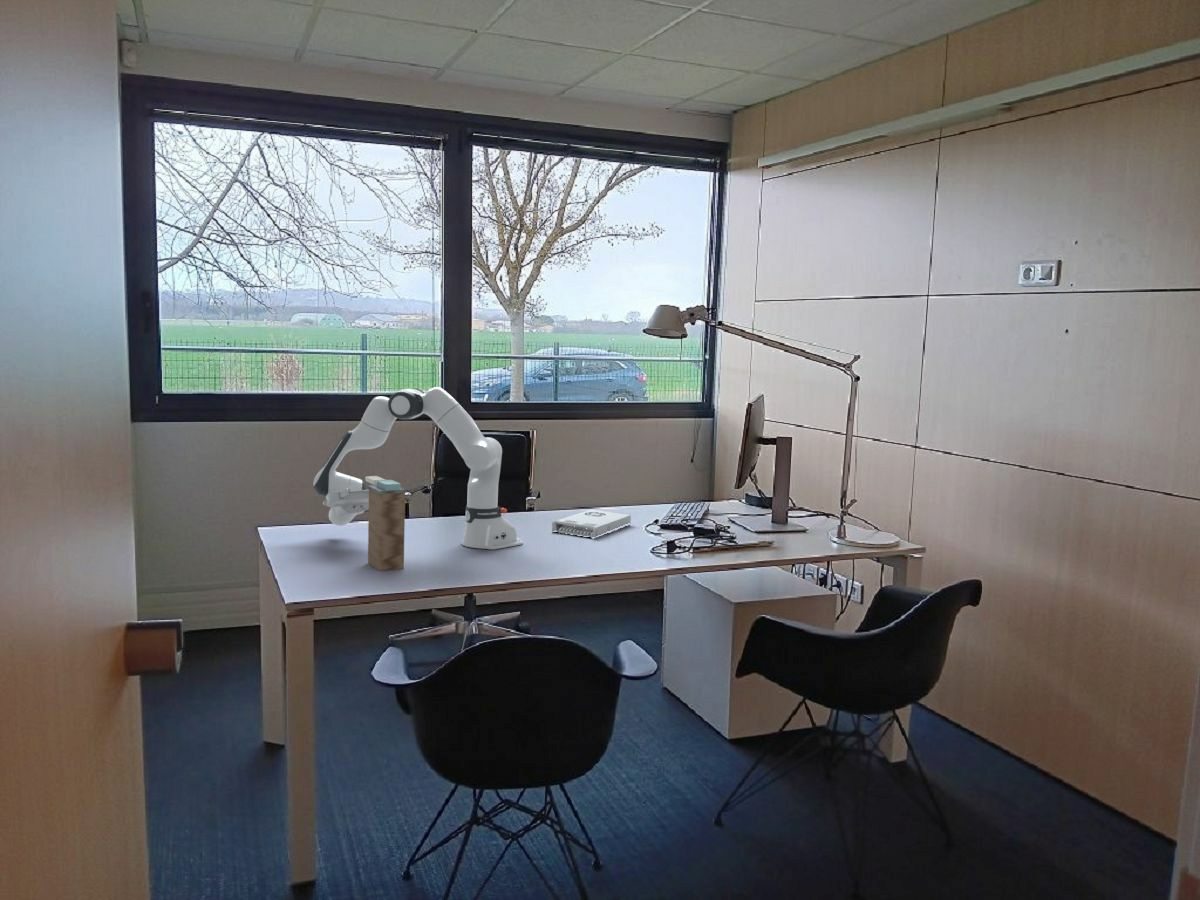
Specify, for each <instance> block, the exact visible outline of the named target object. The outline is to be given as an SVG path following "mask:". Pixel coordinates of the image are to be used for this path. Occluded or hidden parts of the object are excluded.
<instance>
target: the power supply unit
mask: <svg viewBox="0 0 1200 900" xmlns="http://www.w3.org/2000/svg"><path fill="white" fill-rule="evenodd" d="M631 516H632V515H630V514H624V513H619V512H618V513H617V512H611V511H605V510H599V509H598V510H596V509H589V510H585V511H583V512H579V513H576V514H572V515H570V516H567V517H562V518H560V519H556V520H554V521H551V522H552V523H551V533H552V532H553V531H555V530H556V531H557V532H559V533H558V534H560V533H567V534H573V535H582V536H589V537H596V536H598V535H601V534H603V533H606V532H607V531H610V530H613V529H615V528H618V527H620V526H623V525H625V524H628V523H630V524H631V518H632V517H631ZM574 526H575V527H574ZM586 528H587V529H586Z"/></svg>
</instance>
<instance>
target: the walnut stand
mask: <svg viewBox="0 0 1200 900" xmlns="http://www.w3.org/2000/svg"><path fill="white" fill-rule="evenodd" d="M366 490H369V511H368V523H367V525H368V528H367V529H368V535H367V537H368V538H367V540H368V541H367V544H368V545H367V546H368V547H367V564H368V565H370V566H371V567H373V568H374V569H376V570H378V571H379V572H385V571H392V570H400V569H402V570H403V569H404V567H405V526H406V525H405V524H406V523H405V519H406V516H405V514H406V512H405V511H406V509H405V507H406V493H407V491H408V490H407V489H406V488H405V487H402V486H401V490H390V491H385V490H383V489H381V488H378V487H377V486H376V485H373V484H371V485H367V486H366Z"/></svg>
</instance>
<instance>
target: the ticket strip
mask: <svg viewBox="0 0 1200 900" xmlns="http://www.w3.org/2000/svg"><path fill="white" fill-rule="evenodd" d="M365 482H367V483H369V484H371V485H376V486H377V487H378V488H381V489H383V490H385V491H390V490H401V487H402V483H400V482H397V481H395V480H393V479H385V478H383V477H380V476H378V475H370V476H365Z"/></svg>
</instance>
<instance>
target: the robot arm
mask: <svg viewBox="0 0 1200 900" xmlns="http://www.w3.org/2000/svg"><path fill="white" fill-rule="evenodd" d="M362 415H363V416H362V417H361V420H360V422H359V424H358V425H357V426H356V427H355V428H353V429H352V430H347V431H346V432H344V434H343V436H342V437H341V439H339V441H338V443H337V444H336V446H335V447H334V449H333V450H332V452H331V454H330V455H329V457H328V458H327V460H326V462H324V464H323V466H322V467H321V469H320V470H319V471H318V472H317V474H316V475H315V476H314V478H313V481H312V487H313V489H314V491H315V493H316V494H317V495H318V496H321V497H325V500H324V501H322V504H323V505H324V506H326V507H328V508H330V509H329V512H328V519H329V521H330V522H331V523H332V524H333V525H335V526H338V527H341V526H345V525H347V524H349V523H350V522H351V521H353V519H354V518H355V517H356V516H357V515H361V514H364V513H369V489H367V486H366V485H365V482H364V481H363V479H362V478H358V477H355V476H351V475H348V474H345V473H343V472H338V471H337V468H338V467H339V465H340V464H341V462H342V460H343V459H344V457H345V456H346V455H347V454H348V453H349V452H352V451H356V450H373V449H377V448H379V447H382V446H383V445H384V444H385V442H386V441H387V439H388V437H389V435H390V433H391V430H392V428H393V426H394V423H395V421H396V420H397V419H399V420H414V419H416V418H419V417H422V416H423V415H426V416H428V417H430V419H431V420H432V421H433V422H434V423H435V424H436V425H437V426H438V427H439V429H440V430H441V431H442V432H443V434H445V436H446V437H447V438H448V439H449V441H450V442H451V443H452V444H453V446H454V447H455V449H456V450H457V452H458V453H459V455H460V456H461V458H462V459H463V461H464V463H465V465H466V467H468V469H470V471H469V478H468V482H467V492H466V493H467V497H466V498H467V499H466V502H467V503H466V506H465V516H464V517H465V526H464V527H465V529H464V534H463V536H462V537H463V538H462V541H461V545H462V546H464V547H467V548H472V549H486V550H499V549H503V548H509V547H514V546H515V547H516V546H521V545H523V543H524V541H523V540H522V539H520V538H519V537H517V535H518V534H517V529H516V527H515V525H513V524H512V523H511V522H509V521H508V520H507V519H506V518H505V517H503V515H505V514H507V508H504V507H501V506H498V503H499V502H498V501H499V499H498V497H499V482H500V474H501V467H502V457H503V448H502V445H501V444H500V441H498V440H497V439H495V438H493V437H488V436H487V437H485V436H484V434H483V433H482V431H481V430H480V428H479V427H478V426H477V424H476V422H475V420H474V419H473V418H472V416H471V415H470V414H469V413H468V412H467V410H465V408H464V407H462V405H461V404H460V403H459V402H458V401H457V400H456V399H455V398H454V397H453V396H452V395H451V394H450V393H448V392H447V391H446V390H445V389H443V388H442V387H440V386H435V387H431V388H430V389H428V390H426V392H424V391H422V390H421V389H418V388H403V389H400V390H397V391H395V392H393V393H392V394H391V396H389V397H387V396H382V395H381V396H379V395H378V396H375V397H373V399H372V400H371V401H370V403H369V404H368V406H367V408H366V409H365V411H364V413H363V414H362ZM502 514H503V515H502Z"/></svg>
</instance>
